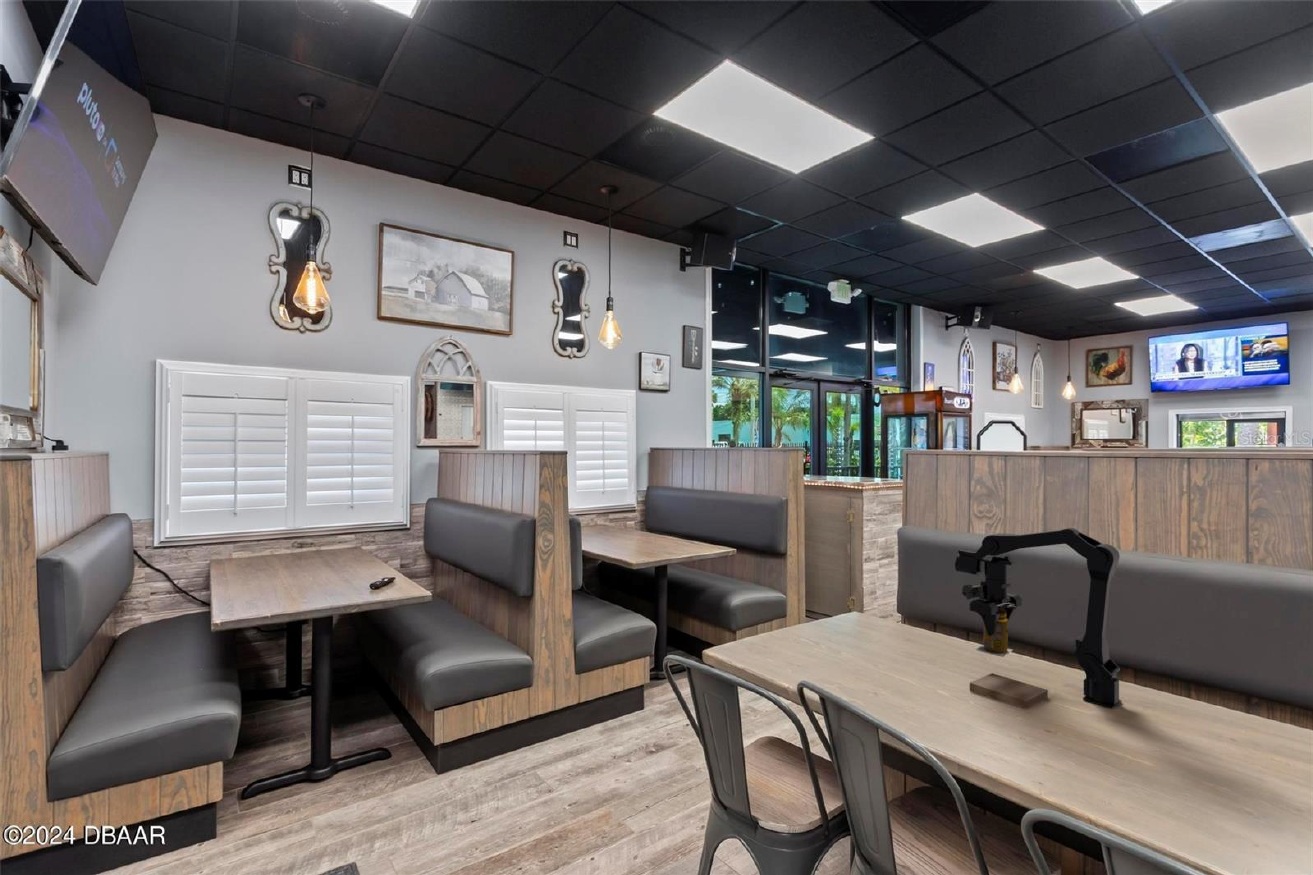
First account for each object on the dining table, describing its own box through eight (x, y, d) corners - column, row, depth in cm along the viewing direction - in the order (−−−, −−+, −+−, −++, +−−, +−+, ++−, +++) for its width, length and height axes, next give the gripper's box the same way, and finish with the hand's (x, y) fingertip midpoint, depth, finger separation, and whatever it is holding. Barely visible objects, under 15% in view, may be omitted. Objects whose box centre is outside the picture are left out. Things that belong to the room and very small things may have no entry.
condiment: (1012, 650, 176) (1013, 608, 176) (1003, 657, 170) (1003, 613, 170) (985, 644, 181) (985, 603, 181) (974, 651, 175) (974, 608, 175)
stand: (1047, 697, 159) (1047, 689, 159) (1026, 709, 152) (1026, 701, 152) (992, 680, 171) (992, 673, 171) (969, 690, 164) (969, 682, 164)
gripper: (983, 569, 188) (983, 621, 188) (950, 577, 177) (950, 632, 177) (1022, 576, 179) (1022, 630, 179) (990, 584, 168) (990, 642, 168)
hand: (995, 633), depth 176 cm, fingers closed on condiment, 6 cm apart
